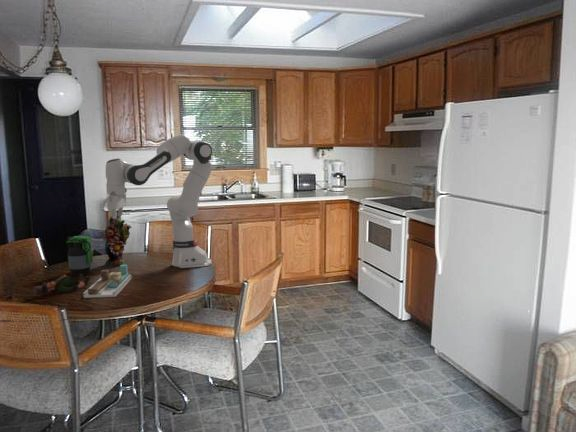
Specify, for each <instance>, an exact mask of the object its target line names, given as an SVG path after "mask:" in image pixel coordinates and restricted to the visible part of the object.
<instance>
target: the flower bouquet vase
mask: <svg viewBox="0 0 576 432" xmlns="http://www.w3.org/2000/svg"><path fill="white" fill-rule="evenodd" d="M116 215H117V218H116V219H113V216H112V215H111V216H110V217H109V220H108V222H109V223H108V224H107V226H106V228H105V229H104V232H105V234H104V239H105V240H107V241H108V242H107V243H106V247H105V251H106V253H105V255H107V257H108V259H107V260H106V261H105V263H104V264H105V266H106V268H108V267H109V268H113V267H114V268H115V267H120V266H121V265H126V264H125V262H124V260H123V259H124V257H123V256H124V255H123V253H124V251H125V246H126V245H127V244H128V242H127V240H128V239H129V237H130V229H132V226H131V225H130V224H129V223H127V222H126V221H125V220H124V219H122V216H118V213H117V212H116Z"/></svg>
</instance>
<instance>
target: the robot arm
mask: <svg viewBox="0 0 576 432" xmlns="http://www.w3.org/2000/svg"><path fill="white" fill-rule="evenodd" d="M212 155H213V148H212V145H211V144H210V143H209V142H207V141H204V140H202V141H201V140H190V138H189V137H188V136H187V135H186V134H184V133H180V134H177V135H174V136H172V137H170V138H168V139H166V140H165V141H163V142H161V143H160V144H159V145H158V146H157V147H156V154H155V156H154V157H152V158H151V159H149V160H148V161H146V162H145V163H142V164H132V163H129V162H127V161H125V160H123V159H122V158H112V159H108V161H106V163H105V178H106V186H105V187H106V194H107V195H108V196H107V200H106V202H107V203H106V205H107V207H106V208H107V211H109V212H111V216H113V219H116V218H117V215H116V213H117V212H118V213H117V214H118V216H121V217H122V216H123V210H124V207H125V206H126V205H127V190H128V189H127V187H126V183H129V184H132V185H134V186H143V185H144V184H145V183H146V182H148V180H149V179H150V177H151V176H152V175H153V174H154V173H155V172H157V171H158V170H160V169H161V168H163V167H164V166H166V165H167V164H169V163H171V162H172V161H175V160H177V159H178V158H180V157H181V156H183V157H185V158H186V159H188V160H191V161H193V163H192V167H191V169H190V170H189V172H188V174H187V175H186V178H185V179H184V181H183V183H182V191H181V194H180V195H174V196H171V197H169V198H168V199H167V202H166V207H167V210H168V212H169V216H170V220H171V224H172V232H173V234H172V235H173V240H172V249H173V254H172V255H173V256H172V262H171V265H172V266H174V267H177V268H179V269H185V268H196V267H197V268H200V267H209V266H210V265H211V264H212V259H211V258H208V254H207V251H206V250H205V249H203V248H201V247H200V246H198V240H197V239H195V238H194V227H193V223H192V221H191V219H190V218H192V217H194V216H196V214H197V213H198V210H199V206H198V204H199V199H200V195H201V194H202V191H203V189H204V187H205V186H206V183H207V182H208V180H209V178H210V175H211V173H212V170H213V164H212V163H211V160H212ZM117 210H118V211H117Z"/></svg>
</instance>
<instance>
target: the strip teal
mask: <svg viewBox="0 0 576 432" xmlns="http://www.w3.org/2000/svg"><path fill="white" fill-rule="evenodd" d="M119 272H121V277H122V281H121V282H120V283H119V284H118V282H109V287H118V286H119V285H120V284H121V283H122V282H123V281H124V280H125V279H126V278H127V276H128V275H130V272H129V271H128V264H125V265H121V266H119Z"/></svg>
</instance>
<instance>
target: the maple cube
mask: <svg viewBox="0 0 576 432" xmlns="http://www.w3.org/2000/svg"><path fill="white" fill-rule="evenodd" d="M121 281H122V277H121V272H120V271H112V272H109V282H118V284H119V283H120V282H121Z"/></svg>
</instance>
